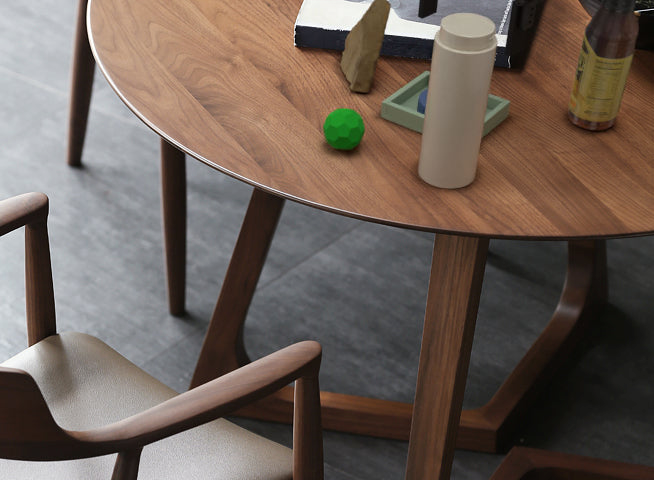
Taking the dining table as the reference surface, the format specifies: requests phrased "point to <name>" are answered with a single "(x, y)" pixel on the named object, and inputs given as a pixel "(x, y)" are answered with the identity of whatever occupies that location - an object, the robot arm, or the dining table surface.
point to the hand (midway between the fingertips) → (469, 33)
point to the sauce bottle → (604, 65)
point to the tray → (405, 113)
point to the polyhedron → (344, 129)
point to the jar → (457, 99)
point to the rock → (365, 46)
